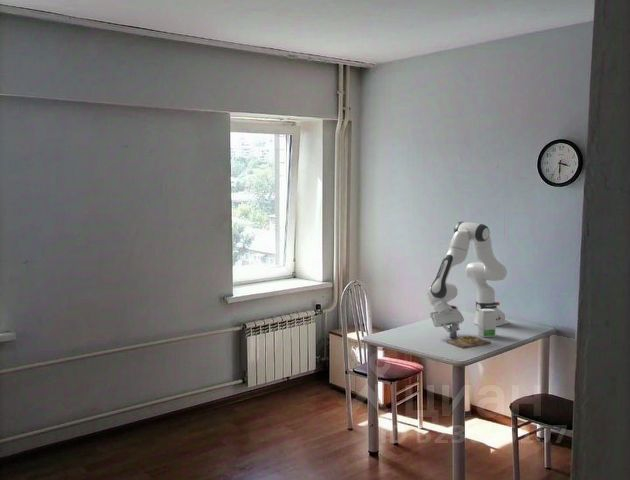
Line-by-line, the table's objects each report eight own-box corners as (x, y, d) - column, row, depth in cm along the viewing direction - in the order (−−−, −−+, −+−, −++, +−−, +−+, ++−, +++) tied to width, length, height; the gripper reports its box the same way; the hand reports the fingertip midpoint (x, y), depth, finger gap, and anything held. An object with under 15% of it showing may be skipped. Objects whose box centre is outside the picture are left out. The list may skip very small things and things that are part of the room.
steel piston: (453, 336, 347) (453, 323, 346) (458, 338, 343) (458, 324, 343) (448, 337, 345) (448, 324, 344) (452, 339, 342) (452, 325, 341)
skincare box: (482, 337, 344) (483, 311, 342) (477, 334, 350) (477, 308, 349) (496, 336, 345) (496, 310, 344) (490, 333, 352) (490, 308, 350)
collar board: (474, 338, 342) (474, 333, 342) (490, 343, 331) (490, 338, 331) (447, 342, 334) (447, 337, 333) (462, 348, 322) (462, 343, 322)
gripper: (431, 309, 344) (441, 329, 337) (458, 306, 353) (470, 325, 346) (426, 316, 349) (437, 335, 341) (454, 312, 358) (464, 331, 350)
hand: (453, 330), depth 343 cm, fingers open, 5 cm apart
